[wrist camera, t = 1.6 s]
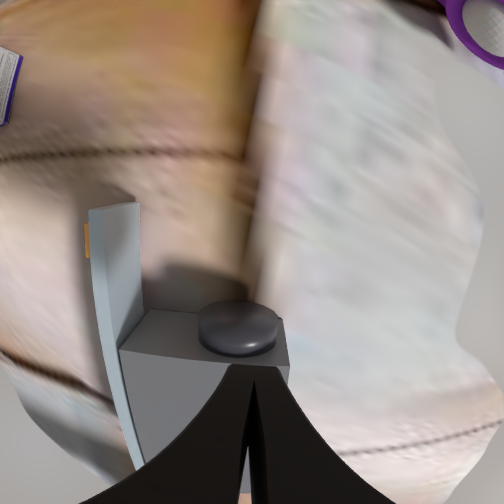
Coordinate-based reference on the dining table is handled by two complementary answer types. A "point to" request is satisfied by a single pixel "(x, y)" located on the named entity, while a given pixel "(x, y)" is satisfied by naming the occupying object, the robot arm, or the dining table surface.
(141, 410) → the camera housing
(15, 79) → the supplement box
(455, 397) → the dining table surface
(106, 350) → the side door
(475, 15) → the toy camera
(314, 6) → the dining table surface
